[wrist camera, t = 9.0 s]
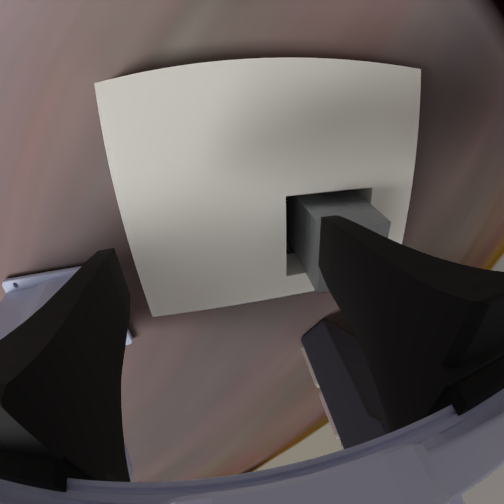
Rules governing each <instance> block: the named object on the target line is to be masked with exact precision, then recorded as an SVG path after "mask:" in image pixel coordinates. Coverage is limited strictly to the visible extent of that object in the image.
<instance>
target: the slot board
mask: <svg viewBox="0 0 504 504" xmlns="http://www.w3.org/2000/svg"><path fill="white" fill-rule="evenodd" d="M95 90H96V97H97V104H98V110H99V116H100V122H101V128H102V133H103V138H104V143H105V149H106V153H107V158H108V163H109V168H110V172H111V177H112V181H113V185H114V189H115V194H116V198H117V202H118V206H119V209H120V213H121V217H122V221H123V225H124V228H125V232H126V235H127V239H128V242H129V246H130V249H131V253H132V256H133V259H134V263H135V266H136V269H137V272H138V275H139V278H140V281H141V285H142V288H143V291H144V294H145V297H146V299H147V302H148V305H149V308H150V311H151V314H152V317H157V316H165V315H172V314H179V313H186V312H193V311H199V310H206V309H212V308H219V307H225V306H231V305H237V304H243V303H249V302H255V301H261V300H267V299H272V298H278V297H284V296H289V295H294V294H300V293H305V292H310V291H315V289H314V288H313V286H312V284H311V282H310V280H309V278H308V276H307V274H306V273H305V271H304V269H303V267H302V265H301V263H300V261H299V260H298V258H297V256H296V254H295V253H290V254H286V196H293V195H302V194H311V193H321V192H330V191H340V190H351V189H354V190H355V191H356V192H357V193H359V194H360V195H361V196H362V197H363V198H364V199H366V200H367V201H368V202H369V203H370V204H371V205H373V206H374V207H375V208H376V209H377V210H378V211H379V212H381V213H382V214H383V215H384V216H385V217H386V218H387V219H388V220H389V221H391V225H390V230H389V235H388V238H389V239H391V240H393V241H395V242H398V243H400V244H402V241H403V236H404V231H405V225H406V220H407V214H408V208H409V202H410V196H411V189H412V182H413V175H414V167H415V159H416V149H417V139H418V127H419V113H420V92H421V69H417V68H411V67H405V66H399V65H392V64H384V63H376V62H367V61H357V60H345V59H329V58H252V59H235V60H223V61H213V62H203V63H195V64H188V65H180V66H174V67H168V68H162V69H156V70H151V71H145V72H140V73H135V74H131V75H126V76H122V77H117V78H113V79H109V80H105V81H101V82H98V83H95Z"/></svg>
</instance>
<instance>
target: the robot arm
mask: <svg viewBox="0 0 504 504" xmlns="http://www.w3.org/2000/svg"><path fill="white" fill-rule="evenodd" d="M318 266H319V268H320V271H321V273H322V276H323V278H324V281H325V283H326V285H327V287H328V289H329V291H330V293H331V294H332V296H333V298H334V300H335V301H336V303H337V305H338V306H339V308H340V310H341V311H342V313H343V315H344V316H345V318H346V320H347V322H348V323H349V325H350V327H351V328H352V330H353V332H354V334H355V336H356V338H357V340H358V342H359V344H360V346H361V348H362V351H363V353H364V356H365V358H366V361H367V363H368V366H369V368H370V371H371V374H372V376H373V379H374V382H375V385H376V388H377V391H378V394H379V397H380V400H381V404H382V407H383V410H384V414H385V418H386V422H387V426H388V430H389V433H388V434H386V435H383V436H381V437H378V438H376V439H373V440H370V441H367V442H365V443H362V444H359V445H356V446H353V447H350V448H347V449H344V450H341V451H338V452H335V453H331V454H328V455H324V456H321V457H317V458H314V459H309V460H306V461H302V462H298V463H293V464H289V465H285V466H281V467H276V468H271V469H266V470H261V471H255V472H249V473H243V474H237V475H230V476H223V477H215V478H206V479H195V480H183V481H165V482H132V464H131V460H130V457H129V453H128V450H127V447H126V445H125V443H124V438H123V428H122V412H121V375H122V366H123V358H124V351H125V345H129V344H131V343H132V340H133V339H132V336H131V334H130V331H129V329H128V325H129V316H130V293H129V290H128V288H127V285H126V282H125V279H124V276H123V273H122V270H121V267H120V265H119V262H118V258H117V255H116V252H115V249H114V248H112V249H107V250H101V251H98V252H96V253H95V254H94V255H93V256H92V257H91V258H90V259H89V260H88V261H86V263H85V264H84V265H83V266H79V267H73V268H67V269H61V270H55V271H49V272H43V273H37V274H31V275H26V276H20V277H14V278H8V279H5V280H4V281H3V283H2V286H3V288H4V290H5V292H6V294H5V296H4V298H3V300H2V301H1V303H0V504H465V503H464V501H463V499H462V496H461V495H462V494H463V493H465V492H466V491H468V490H469V489H471V488H472V487H473V486H475V485H476V484H478V483H479V482H480V481H482V480H483V479H485V478H486V477H487V476H489V475H490V474H491V473H492V472H494V471H495V470H496V469H497V468H499V467H500V466H501V465H503V464H504V272H499V271H491V270H485V269H480V268H475V267H470V266H466V265H461V264H457V263H454V262H450V261H447V260H443V259H440V258H437V257H433V256H431V255H428V254H425V253H422V252H419V251H417V250H414V249H412V248H409V247H407V246H404V245H402V244H400V243H398V242H395V241H393V240H391V239H389V238H386V237H384V236H382V235H380V234H378V233H376V232H374V231H372V230H370V229H368V228H366V227H364V226H362V225H359V224H357V223H355V222H353V221H351V220H349V219H346V218H344V217H341V216H338V215H333V216H326V217H321V227H320V245H319V261H318ZM16 283H17V284H18V285H17V284H16Z"/></svg>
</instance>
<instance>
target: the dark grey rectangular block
mask: <svg viewBox="0 0 504 504" xmlns="http://www.w3.org/2000/svg"><path fill="white" fill-rule="evenodd" d="M301 341H302V344H303V346H302V347H301V350H302V352H303V355H304V357H305V360H306V363H307V365H308V368H309V370H310V373H311V375H312V378H313V381H314V383H315V385H316V386H317V387H318V388H320V389H321V391H320V392H319V396H320V399H321V401H322V404H323V406H324V409H325V412H326V414H327V417H328V419H329V422H330V425H331V427H332V429H333V432H334V435H335V437H336V438H337V439H339V440H341V447H342V450H344V449H347V448H350V447H353V446H356V445H359V444H362V443H365V442H367V441H370V440H373V439H376V438H378V437H381V436H383V435H386V434H388V433H389V430H388V426H387V422H386V418H385V414H384V410H383V407H382V404H381V400H380V397H379V394H378V391H377V388H376V385H375V382H374V379H373V376H372V374H371V371H370V368H369V366H368V363H367V361H366V358H365V356H364V353H363V351H362V348H361V346H360V344H359V342H358V340H357V338H356V337H354V336H353V335H351V334H349V333H348V332H346V331H344V330H343V329H341V328H339V327H338V326H336V325H334V324H333V323H331V322H329V321H328V320H326V319H323V320H322V321H320V322H319V323H318V324H317V325H316V326H315V327H314V328H312V329H311V330H310V331H309V332H308V333H307V334H305V335H304V336H303V337H302V338H301Z"/></svg>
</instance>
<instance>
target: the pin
mask: <svg viewBox="0 0 504 504" xmlns="http://www.w3.org/2000/svg"><path fill="white" fill-rule="evenodd" d="M333 215H338V216H341V217H344V218H346V219H349V220H351V221H353V222H355V223H357V224H359V225H362V226H364V227H366V228H368V229H370V230H372V231H374V232H376V233H378V234H380V235H382V236H384V237H386V238H388V235H389V230H390V225H391V221H389V220H388V219H387V218H386V217H385V216H384V215H383V214H382V213H381V212H379V211H378V210H377V209H376V208H375V207H374V206H373V205H371V204H370V203H369V202H368V201H367V200H366V199H364V198H363V197H362V196H361V195H360V194H359V193H357V192H356V191H355V190H354V189H351V190H340V191H330V192H321V193H311V194H302V195H293V196H288V241H289V243H290V245H291V247H292V249H293V250H294V252H295V254H296V256H297V258H298V260H299V261H300V263H301V265H302V267H303V269H304V271H305V273H306V274H307V276H308V278H309V280H310V282H311V284H312V286H313V288H314V289H315V291H316V293H323V292H328V291H329V289H328V287H327V285H326V283H325V281H324V278H323V276H322V273H321V271H320V268H319V266H318V261H319V245H320V227H321V217H326V216H333Z"/></svg>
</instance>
